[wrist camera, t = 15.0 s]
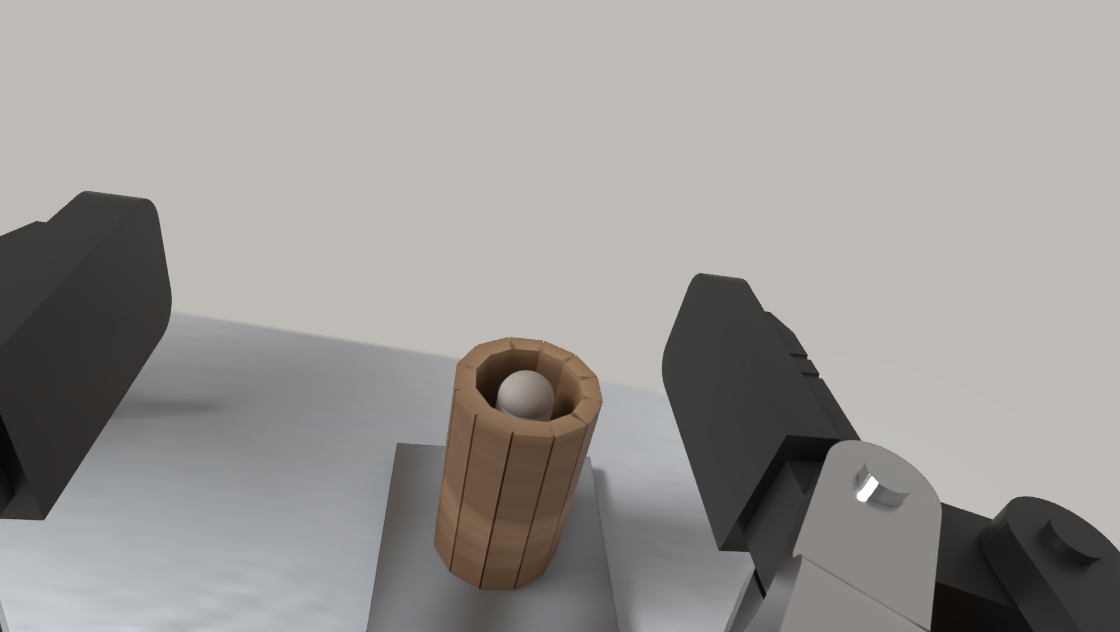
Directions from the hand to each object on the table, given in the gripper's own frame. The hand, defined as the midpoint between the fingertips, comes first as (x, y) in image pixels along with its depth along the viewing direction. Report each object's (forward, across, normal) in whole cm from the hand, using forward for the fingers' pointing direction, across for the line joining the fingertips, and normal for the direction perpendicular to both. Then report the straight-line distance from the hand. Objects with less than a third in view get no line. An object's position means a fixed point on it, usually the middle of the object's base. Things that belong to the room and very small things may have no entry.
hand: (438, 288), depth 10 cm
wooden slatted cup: (+11, -4, +22) cm, 25 cm away
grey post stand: (+11, -4, +23) cm, 26 cm away
